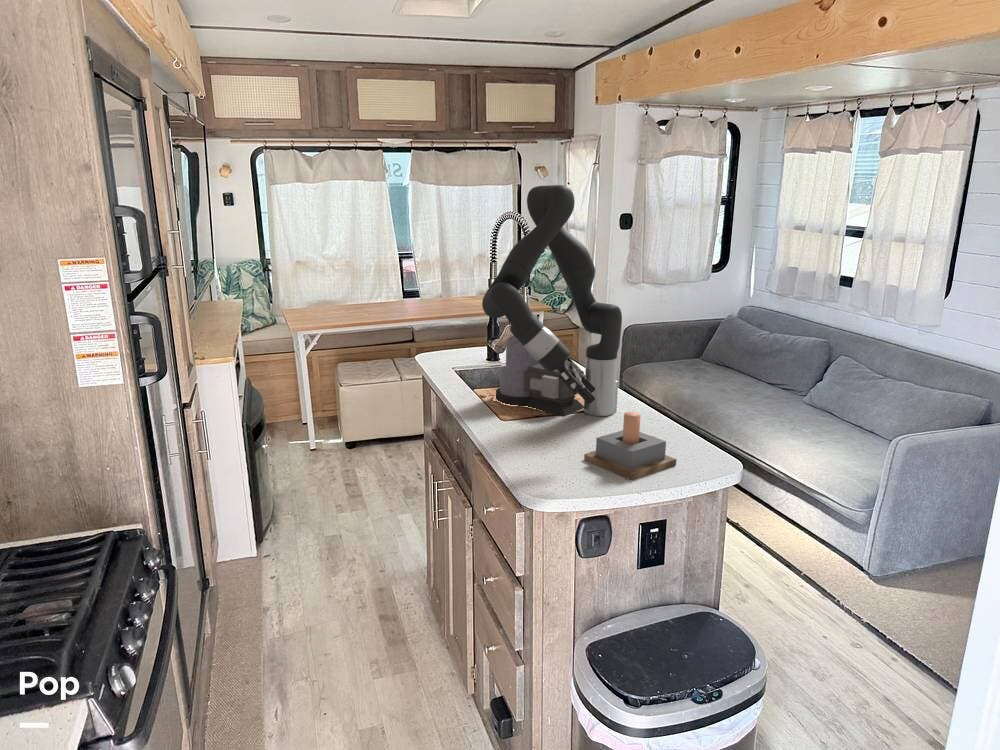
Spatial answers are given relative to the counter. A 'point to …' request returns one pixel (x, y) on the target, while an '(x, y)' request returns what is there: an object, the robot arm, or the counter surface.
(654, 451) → the socket
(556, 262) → the robot arm
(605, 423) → the counter surface
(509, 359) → the juicer
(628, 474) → the socket board
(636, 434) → the peg
